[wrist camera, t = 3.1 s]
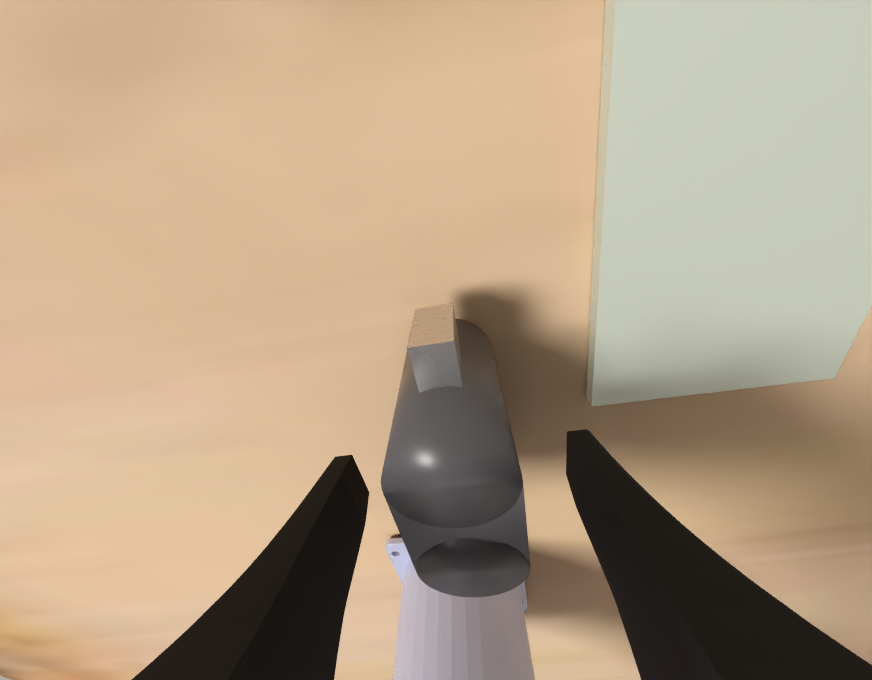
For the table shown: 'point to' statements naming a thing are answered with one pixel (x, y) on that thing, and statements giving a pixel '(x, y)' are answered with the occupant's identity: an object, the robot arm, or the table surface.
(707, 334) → the board
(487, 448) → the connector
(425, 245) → the table surface
